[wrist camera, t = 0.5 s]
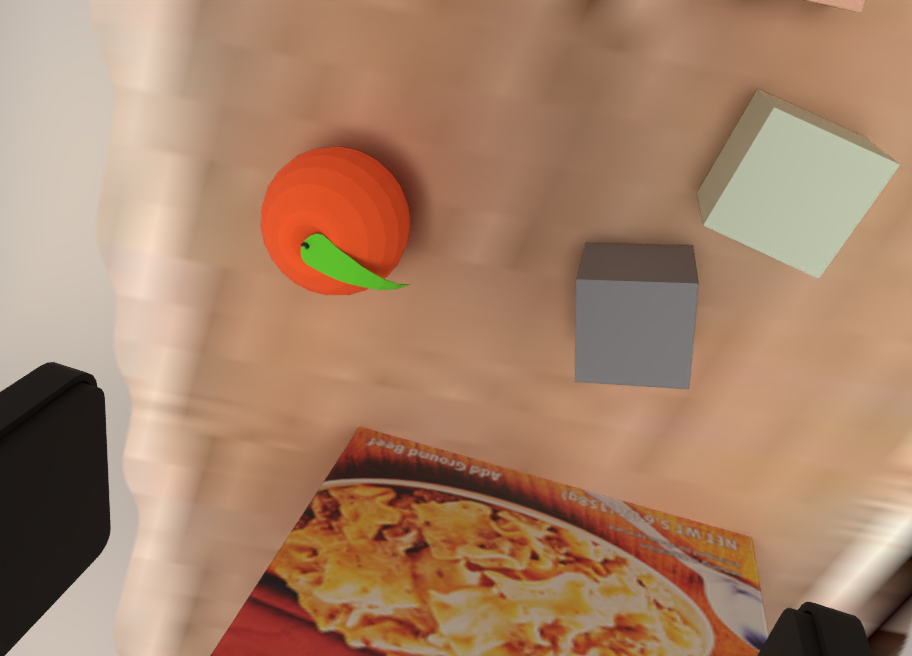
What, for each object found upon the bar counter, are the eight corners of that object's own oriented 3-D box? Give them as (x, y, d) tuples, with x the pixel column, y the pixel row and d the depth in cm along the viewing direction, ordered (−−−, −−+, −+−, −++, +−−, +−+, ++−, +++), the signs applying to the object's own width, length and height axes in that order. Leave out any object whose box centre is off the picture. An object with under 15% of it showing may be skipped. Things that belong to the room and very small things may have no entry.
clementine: (470, 198, 37) (432, 245, 30) (403, 301, 40) (356, 362, 34) (334, 105, 36) (268, 132, 30) (278, 216, 40) (207, 262, 33)
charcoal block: (585, 242, 36) (576, 279, 32) (692, 244, 35) (698, 283, 31) (583, 335, 38) (575, 381, 34) (685, 340, 37) (689, 389, 33)
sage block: (757, 88, 32) (774, 107, 27) (865, 137, 32) (900, 164, 27) (696, 192, 34) (703, 225, 30) (797, 238, 34) (818, 279, 30)
